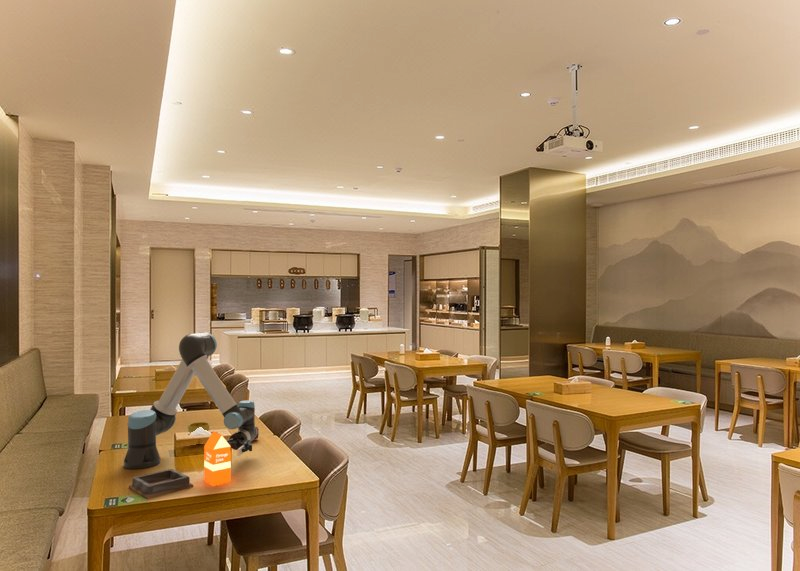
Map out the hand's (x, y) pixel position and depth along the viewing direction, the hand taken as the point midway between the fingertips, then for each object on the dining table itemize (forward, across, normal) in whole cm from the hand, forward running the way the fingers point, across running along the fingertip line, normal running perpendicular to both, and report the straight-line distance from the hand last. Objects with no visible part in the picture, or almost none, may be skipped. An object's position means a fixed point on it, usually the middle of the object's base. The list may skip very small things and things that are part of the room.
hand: (222, 452), depth 238 cm
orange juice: (+3, +1, -11) cm, 12 cm away
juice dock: (+11, +21, -11) cm, 26 cm away
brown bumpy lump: (-64, +9, -11) cm, 66 cm away
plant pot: (-57, +34, -11) cm, 68 cm away
